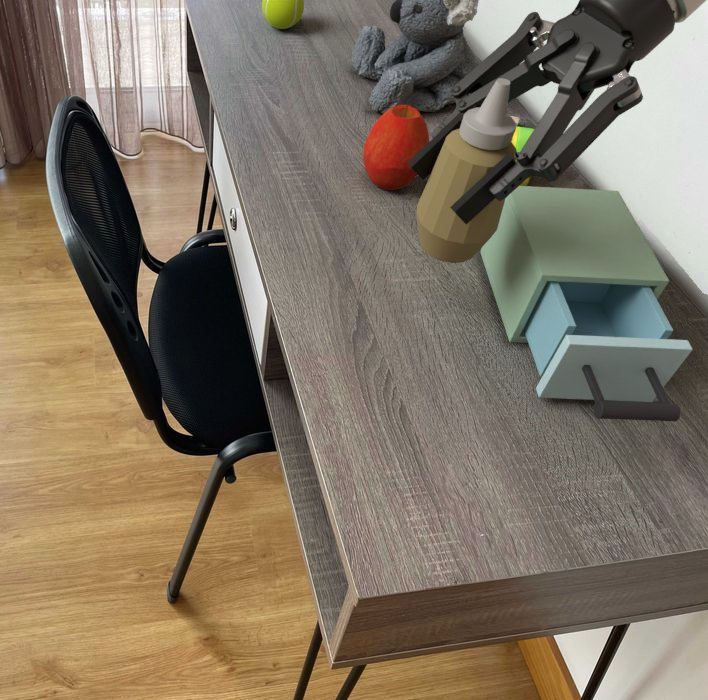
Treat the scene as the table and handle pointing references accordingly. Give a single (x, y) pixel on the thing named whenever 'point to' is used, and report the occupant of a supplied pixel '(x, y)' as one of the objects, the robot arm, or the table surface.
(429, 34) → the koala plush
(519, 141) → the toy measuring tape
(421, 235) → the squeeze bottle
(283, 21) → the tennis ball
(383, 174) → the red egg-shaped piece
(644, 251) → the cabinet
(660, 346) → the drawer
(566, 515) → the table surface
